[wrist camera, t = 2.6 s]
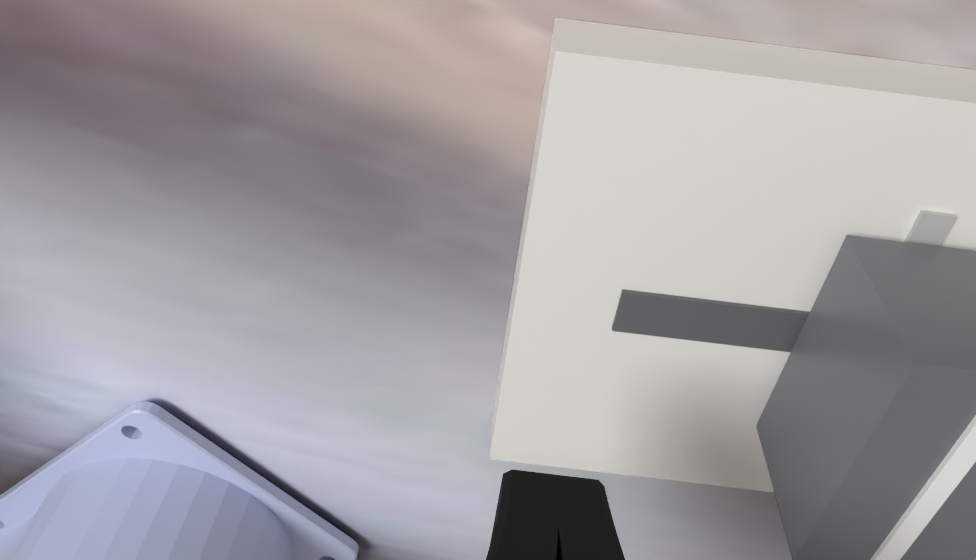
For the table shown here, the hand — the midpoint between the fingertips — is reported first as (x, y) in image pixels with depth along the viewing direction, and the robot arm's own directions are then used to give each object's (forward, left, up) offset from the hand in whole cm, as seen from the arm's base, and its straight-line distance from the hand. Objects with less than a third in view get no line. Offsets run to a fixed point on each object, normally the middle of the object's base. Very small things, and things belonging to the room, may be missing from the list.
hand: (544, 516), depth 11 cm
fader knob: (+4, -5, -5) cm, 8 cm away
